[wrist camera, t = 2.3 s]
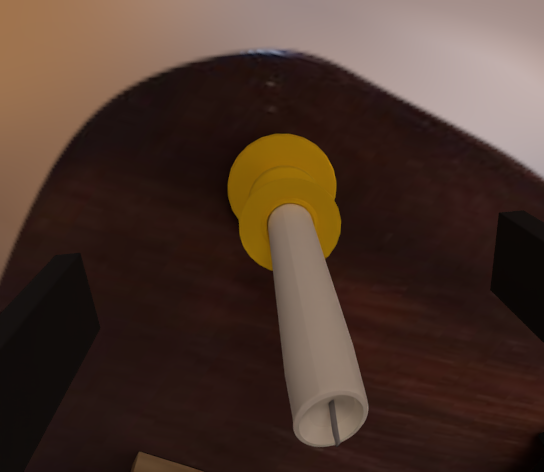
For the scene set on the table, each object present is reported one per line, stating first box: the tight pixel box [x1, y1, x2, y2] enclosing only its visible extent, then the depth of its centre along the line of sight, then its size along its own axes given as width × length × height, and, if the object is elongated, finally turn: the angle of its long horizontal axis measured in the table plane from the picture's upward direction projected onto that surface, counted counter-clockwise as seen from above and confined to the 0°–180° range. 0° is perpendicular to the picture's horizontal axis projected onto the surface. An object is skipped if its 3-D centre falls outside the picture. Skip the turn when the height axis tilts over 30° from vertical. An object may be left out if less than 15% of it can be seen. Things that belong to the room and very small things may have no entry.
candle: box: [228, 134, 368, 447], centre depth 15 cm, size 5×5×16 cm
